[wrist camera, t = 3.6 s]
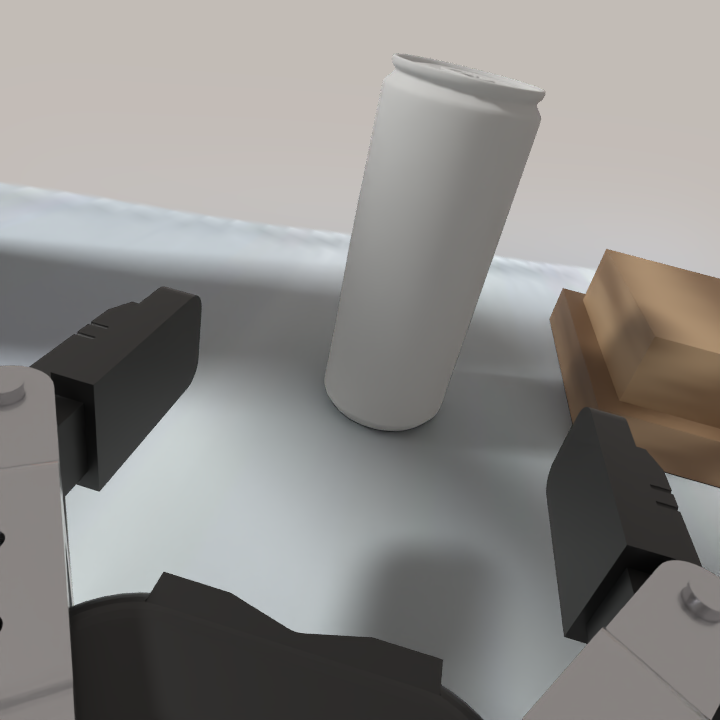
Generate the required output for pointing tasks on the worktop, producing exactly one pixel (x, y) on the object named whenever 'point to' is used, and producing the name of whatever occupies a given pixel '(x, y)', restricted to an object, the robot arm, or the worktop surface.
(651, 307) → the stand
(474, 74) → the beverage can
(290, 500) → the worktop surface
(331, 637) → the robot arm
